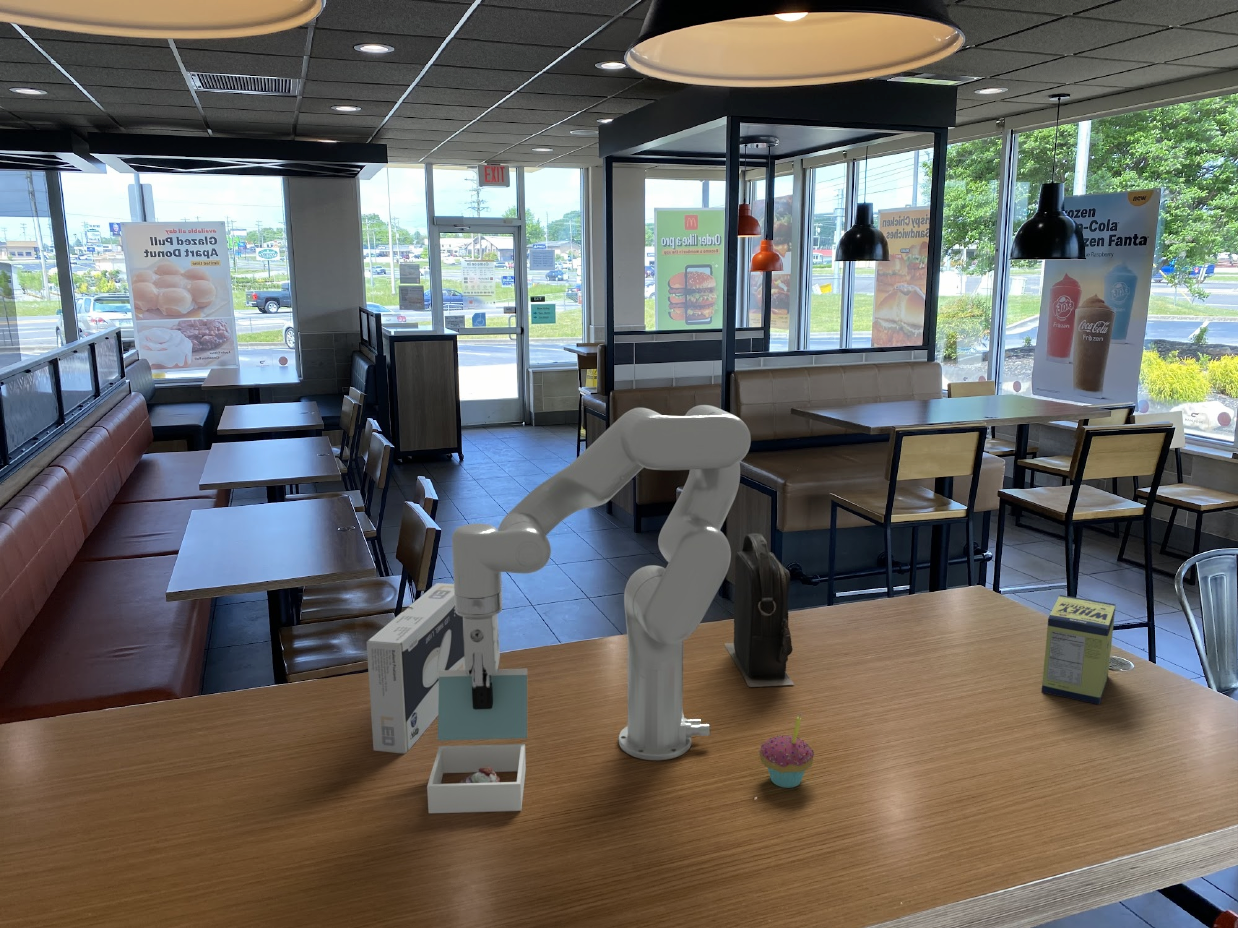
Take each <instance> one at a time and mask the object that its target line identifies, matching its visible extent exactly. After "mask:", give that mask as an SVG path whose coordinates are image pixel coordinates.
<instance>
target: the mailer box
mask: <svg viewBox="0 0 1238 928" xmlns="http://www.w3.org/2000/svg"><path fill="white" fill-rule="evenodd" d="M435 756H436V757H435V759H434V762H433V766H432V770H431V773H430V776H429V779H428V783H427V786H426V790H427V807H428V808H427V810H428V814H449V813H450V814H451V813H452V814H454V813H486V812H487V813H488V812H493V813H494V812H519V811H520V812H522V807H523V798H524V788H525V780H526V779H525V777H526V769H527V767H526V765H527V763H526V744H525V743H517V744H516V743H515V744H482V745H481V744H480V745H479V744H476V745H475V744H473V745H472V744H471V745H439V746H438V749H437V752H436V755H435ZM483 767H488V768H489V767H491V769H492V770H493V772H495V773H500V772H501V773H502V772H505V773H507V772H517V777H516V781H505V782H504V781H503V782H501V781H500V782H494V783H460V782H459V783H458V782H457V783H442V781H443V780H442V779H443V776H444V774H457V773H458V774H459V773H461V774H462V773H463V774H464V773H477V772H479V769H480V768H483Z"/></svg>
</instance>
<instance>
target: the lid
mask: <svg viewBox="0 0 1238 928" xmlns="http://www.w3.org/2000/svg"><path fill="white" fill-rule="evenodd" d="M490 682H492V686H493V706H492V709H477V710H475V709H473V702H472V686H473V685H472V674H471V675H470V677H469V676H468V675H467V674H466V670H442V671H439V699H438V716H437V741H438V742H439V741H468V740H469V741H472V740H474V741H475V740H480V741H481V740H504V739H505V740H508V739H509V740H512V739H513V740H515V739H528V668H498V670H497V673H496V675H494V676H492V675H491V681H490Z"/></svg>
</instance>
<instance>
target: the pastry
mask: <svg viewBox="0 0 1238 928" xmlns="http://www.w3.org/2000/svg"><path fill="white" fill-rule="evenodd" d="M494 782H501V781H500V776H498V775H497V772H493V770H492V769H491V767H489V768H488V767H483V768H480V769H479V772H473V773H471V774H470V775H467V776H465V777H464V778H463V779H461V780H460V782H459V783H494Z"/></svg>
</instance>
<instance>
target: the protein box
mask: <svg viewBox="0 0 1238 928" xmlns="http://www.w3.org/2000/svg"><path fill="white" fill-rule="evenodd" d="M1116 605H1117V604H1116V603H1109V602H1105V601H1097V600H1092V599H1087V598H1082V597H1080V598H1079V597H1075V596H1069V595H1063V594H1059V596H1058V598H1057V600H1056V602H1055V604H1054V606H1053V608H1052V610H1051V612H1050V614H1049V615H1048V617H1047V618H1048V619H1047V630H1046V641H1045V651H1044V652H1045V653H1044V662H1043V672H1042V684H1041V693H1043V694H1044V693H1045V694H1048V695H1054V696H1058V697H1061V698H1068V699H1072V700H1077V701H1080V702H1085V703H1090V704H1091V703H1092V704H1094V705H1098V706H1099V705H1100V704H1101V702H1102V698H1103V696H1104V692H1105V689H1106V684H1107V681H1108V677H1109V670H1110V662H1111V660H1110V659H1111V651H1112V642H1113V635H1114V634H1113V633H1114V632H1113V631H1114V624H1115V615H1116Z"/></svg>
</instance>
